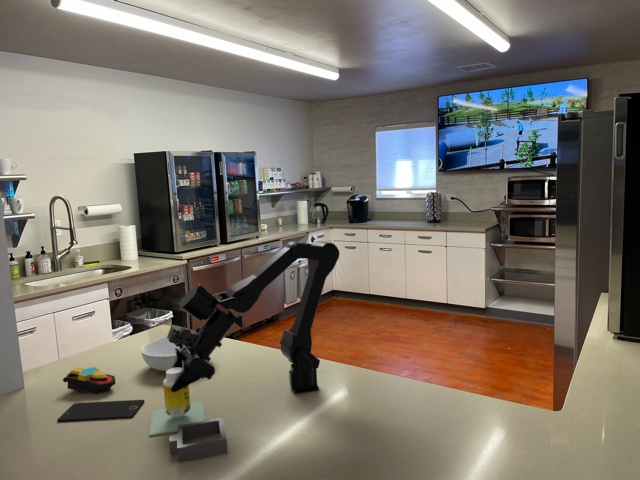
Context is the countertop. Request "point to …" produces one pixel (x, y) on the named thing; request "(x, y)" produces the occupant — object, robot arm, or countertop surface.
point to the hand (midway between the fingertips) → (169, 386)
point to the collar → (199, 448)
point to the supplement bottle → (175, 395)
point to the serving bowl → (159, 354)
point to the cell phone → (101, 411)
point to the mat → (174, 419)
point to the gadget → (89, 380)
